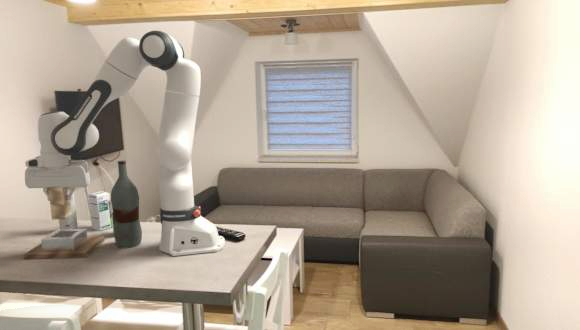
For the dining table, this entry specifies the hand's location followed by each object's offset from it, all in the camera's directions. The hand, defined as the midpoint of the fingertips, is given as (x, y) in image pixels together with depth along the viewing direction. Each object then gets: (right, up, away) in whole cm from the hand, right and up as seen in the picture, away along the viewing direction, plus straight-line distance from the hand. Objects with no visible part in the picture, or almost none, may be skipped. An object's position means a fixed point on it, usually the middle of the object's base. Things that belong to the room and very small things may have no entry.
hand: (60, 200), depth 145 cm
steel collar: (0, -16, +3) cm, 16 cm away
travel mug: (-9, -14, +23) cm, 29 cm away
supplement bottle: (+14, -15, +18) cm, 28 cm away
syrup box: (+3, -14, +26) cm, 29 cm away
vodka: (+21, -16, +7) cm, 27 cm away
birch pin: (0, -6, +1) cm, 6 cm away
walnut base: (0, -17, +3) cm, 18 cm away
